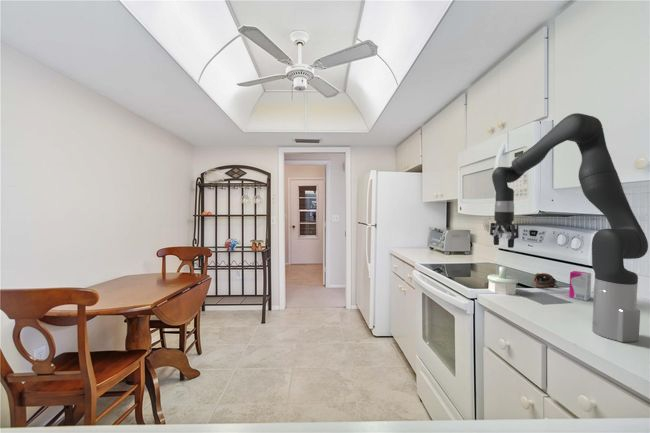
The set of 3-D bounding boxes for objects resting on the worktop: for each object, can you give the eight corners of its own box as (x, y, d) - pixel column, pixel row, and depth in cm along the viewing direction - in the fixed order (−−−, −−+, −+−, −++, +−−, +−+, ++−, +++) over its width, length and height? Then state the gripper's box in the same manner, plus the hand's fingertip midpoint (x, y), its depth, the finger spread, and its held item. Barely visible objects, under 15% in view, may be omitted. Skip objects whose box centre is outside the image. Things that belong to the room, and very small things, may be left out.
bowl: (521, 295, 125) (522, 283, 125) (500, 296, 124) (500, 284, 123) (503, 287, 136) (503, 276, 135) (483, 288, 134) (483, 277, 134)
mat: (573, 303, 114) (573, 302, 114) (542, 305, 112) (542, 304, 112) (542, 292, 128) (542, 291, 128) (514, 294, 126) (514, 293, 126)
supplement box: (590, 299, 120) (591, 272, 119) (586, 302, 116) (587, 274, 116) (573, 295, 124) (574, 270, 124) (568, 298, 121) (569, 272, 120)
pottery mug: (564, 292, 131) (560, 278, 128) (544, 300, 132) (539, 286, 130) (545, 279, 142) (541, 266, 140) (527, 286, 144) (522, 273, 141)
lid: (525, 283, 124) (525, 269, 124) (500, 284, 123) (501, 270, 122) (504, 276, 136) (504, 263, 136) (481, 277, 134) (482, 264, 134)
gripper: (524, 211, 121) (523, 248, 122) (499, 210, 135) (498, 243, 136) (509, 211, 120) (507, 248, 121) (485, 210, 134) (484, 244, 135)
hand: (503, 246), depth 129 cm, fingers open, 8 cm apart
